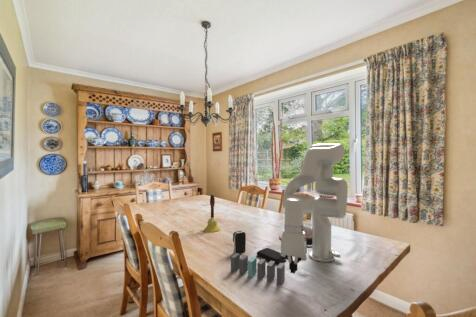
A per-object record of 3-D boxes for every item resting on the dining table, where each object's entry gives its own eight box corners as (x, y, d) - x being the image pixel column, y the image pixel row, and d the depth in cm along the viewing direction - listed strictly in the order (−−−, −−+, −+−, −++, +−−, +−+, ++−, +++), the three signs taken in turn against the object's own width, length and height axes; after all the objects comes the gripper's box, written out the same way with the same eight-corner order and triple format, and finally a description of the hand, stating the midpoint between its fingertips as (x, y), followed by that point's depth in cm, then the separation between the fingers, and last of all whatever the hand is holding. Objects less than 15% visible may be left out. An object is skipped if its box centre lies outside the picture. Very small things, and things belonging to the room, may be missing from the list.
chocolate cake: (328, 250, 133) (328, 238, 133) (278, 246, 139) (279, 235, 139) (320, 233, 161) (320, 224, 161) (279, 230, 166) (279, 221, 166)
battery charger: (242, 249, 133) (242, 229, 133) (246, 251, 130) (246, 231, 130) (231, 251, 130) (231, 231, 129) (235, 254, 126) (235, 233, 126)
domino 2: (247, 270, 109) (247, 255, 109) (243, 275, 105) (243, 259, 105) (244, 269, 110) (244, 254, 110) (239, 274, 106) (239, 258, 106)
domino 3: (248, 276, 104) (248, 261, 104) (252, 271, 108) (252, 256, 108) (252, 277, 103) (252, 261, 103) (256, 272, 107) (256, 257, 107)
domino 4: (265, 274, 105) (265, 259, 105) (261, 280, 101) (261, 264, 101) (261, 273, 106) (261, 258, 106) (257, 278, 102) (257, 263, 102)
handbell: (201, 231, 163) (200, 196, 162) (207, 226, 175) (207, 193, 174) (217, 233, 160) (217, 197, 160) (223, 227, 172) (223, 194, 172)
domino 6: (284, 279, 101) (284, 263, 101) (281, 285, 97) (281, 268, 97) (280, 278, 102) (280, 262, 102) (276, 284, 98) (276, 267, 98)
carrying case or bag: (289, 260, 121) (268, 251, 132) (289, 254, 121) (268, 245, 132) (276, 266, 114) (255, 256, 125) (276, 260, 114) (255, 250, 125)
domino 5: (274, 277, 103) (274, 261, 103) (271, 282, 99) (271, 266, 99) (270, 275, 104) (270, 260, 104) (266, 281, 100) (266, 265, 100)
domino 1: (239, 268, 111) (239, 253, 111) (234, 272, 107) (234, 257, 107) (235, 267, 112) (235, 252, 112) (230, 271, 108) (230, 257, 108)
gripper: (313, 228, 97) (313, 271, 97) (278, 223, 103) (278, 264, 104) (310, 233, 90) (310, 280, 90) (273, 228, 97) (273, 271, 97)
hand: (293, 271), depth 97 cm, fingers closed
